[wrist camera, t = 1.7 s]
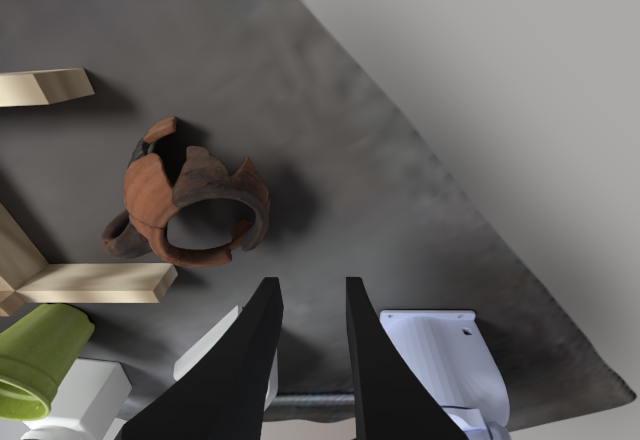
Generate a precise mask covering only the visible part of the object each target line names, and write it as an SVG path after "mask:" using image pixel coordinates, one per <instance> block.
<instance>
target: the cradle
mask: <svg viewBox="0 0 640 440" xmlns="http://www.w3.org/2000/svg"><path fill="white" fill-rule="evenodd" d="M93 94H95V93H94V90H93V88H92V86H91V84H90V82H89V80H88V77H87V75H86V73H85V71H84V69H83V68H78V69H60V70H43V71H25V72H7V73H0V107H2V106H23V105H45V104H53V103H57V102H62V101H66V100H70V99H75V98H79V97H84V96H88V95H93ZM177 275H178V273H177V271H176V269H175V267H174V265H173V264H171V263H124V264H49V263H48V262H47V261H46V259H45V258H44V257H43V256H42V254H41V253H40V252H39V250H38V249H37V248H36V247H35V245H34V244H33V243H32V242H31V240H30V239H29V238H28V237H27V235H26V234H25V233H24V231H23V230H22V229H21V228H20V226H19V225H18V224H17V223H16V221H15V220H14V219H13V218H12V216H11V215H10V214H9V213H8V211H7V210H6V209H5V207H4V206H3V205H2V204H1V202H0V316H10V315H11V314H13V313H14V312H15V311H16V310H17V309H18V308H20V307H21V306H22V305H23V304H24V303H26V302H92V303H159V302H160V301H161V299H162V298H163V296H164V295H165V293H166V292H167V290H168V289H169V287H170V286H171V284H172V283H173V281H174V280H175V278H176V277H177Z"/></svg>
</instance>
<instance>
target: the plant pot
mask: <svg viewBox="0 0 640 440" xmlns="http://www.w3.org/2000/svg"><path fill="white" fill-rule="evenodd" d="M94 329H95V326H94V324H93V323H91V322H90V321H89V320H88V317H87V315H86V314H85V313H84V312H82V311H81V310H78V309H77V308H74V307H72V306H69V305H66V304H62V303H56V304H47V303H45V304H42V305H40V306H39V307H38V308H36V309H35V310H33V311H32V312H30V313H29V314H28V315H26V316H25V317H23V318H22V319H21V320H19V321H18V322H17V323H15V324H14V325H12V326H11V327H10V328H8V329H7V330H5V331H4V332H2V333H1V334H0V418H1V419H8V420H14V421H35V420H41V419H43V418H45V417H47V416H48V415H49V413H50V412H51V403H52V401H53V399H54V398H55V396H56V394H57V392H58V387H59V386H60V384H61V382H62V381H63V379H64V378H65V376H66V374H67V373H68V371H69V370H70V368H71V367H72V365H73V363H74V362H75V360H76V358H77V357H78V355H79V354H80V352H81V350H82V349H83V347H84V346H85V344H86V343H87V341H88V340H89V338H90V336H91V335H92V333H93V332H94Z"/></svg>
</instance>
